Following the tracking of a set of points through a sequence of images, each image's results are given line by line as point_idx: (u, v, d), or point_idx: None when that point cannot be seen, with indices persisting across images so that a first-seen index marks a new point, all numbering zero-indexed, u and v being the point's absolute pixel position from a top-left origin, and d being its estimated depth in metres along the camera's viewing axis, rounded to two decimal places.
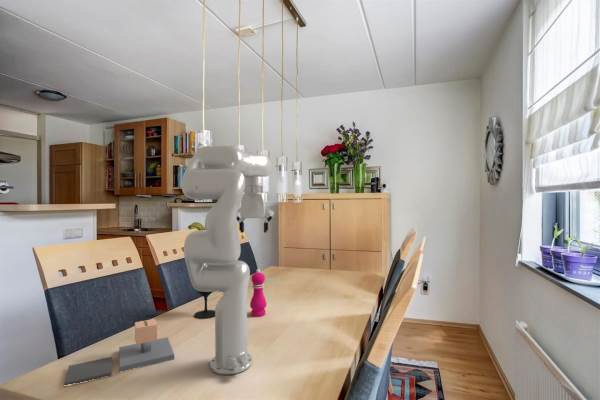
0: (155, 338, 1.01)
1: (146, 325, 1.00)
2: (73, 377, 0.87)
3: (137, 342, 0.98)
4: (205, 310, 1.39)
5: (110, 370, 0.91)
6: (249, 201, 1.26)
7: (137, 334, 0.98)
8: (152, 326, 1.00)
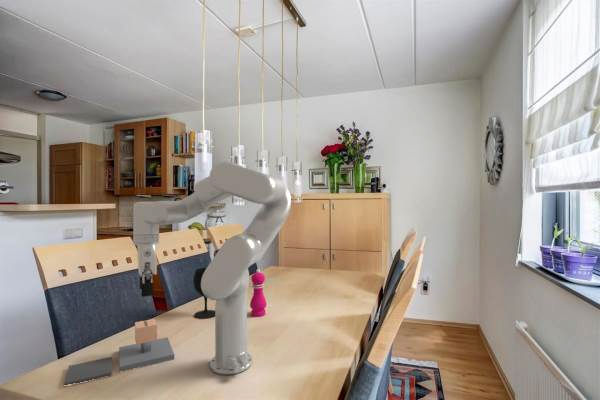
0: (155, 338, 1.01)
1: (146, 325, 1.00)
2: (73, 377, 0.87)
3: (137, 342, 0.98)
4: (205, 310, 1.39)
5: (110, 370, 0.91)
6: None
7: (137, 334, 0.98)
8: (152, 326, 1.00)
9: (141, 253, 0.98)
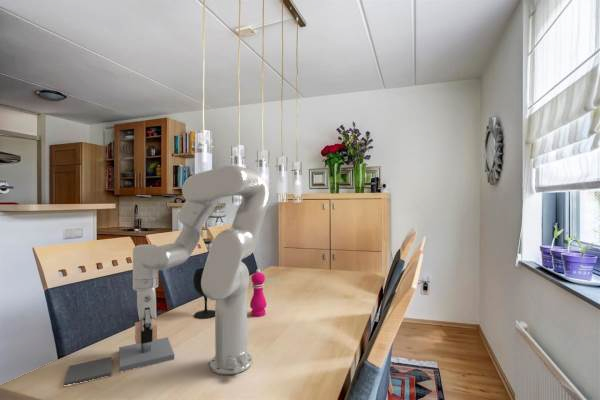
0: (155, 338, 1.01)
1: None
2: (73, 377, 0.87)
3: (137, 342, 0.98)
4: (205, 310, 1.39)
5: (110, 370, 0.91)
6: None
7: (137, 334, 0.98)
8: (152, 326, 1.00)
9: (141, 298, 0.97)
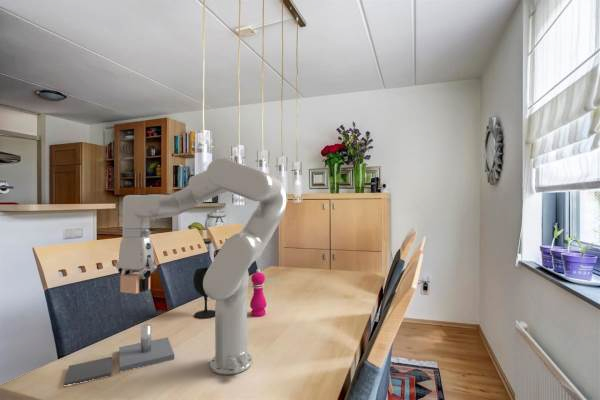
0: (149, 287, 1.02)
1: None
2: (73, 377, 0.87)
3: (136, 291, 0.97)
4: (205, 310, 1.39)
5: (110, 370, 0.91)
6: None
7: (137, 283, 0.97)
8: None
9: (143, 246, 0.98)
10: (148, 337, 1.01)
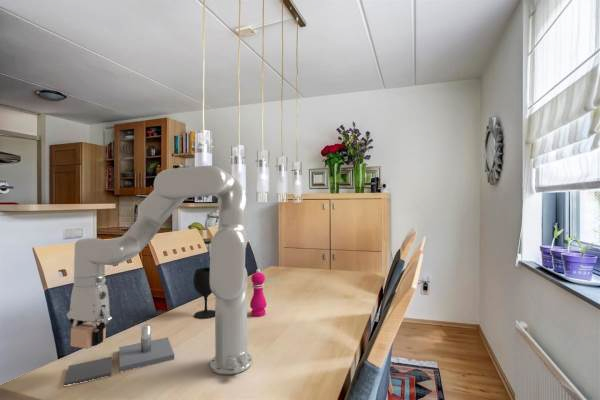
0: (104, 338, 0.93)
1: None
2: (73, 377, 0.87)
3: (88, 346, 0.88)
4: (205, 310, 1.39)
5: (110, 370, 0.91)
6: None
7: (88, 337, 0.89)
8: None
9: (96, 296, 0.89)
10: (148, 337, 1.01)
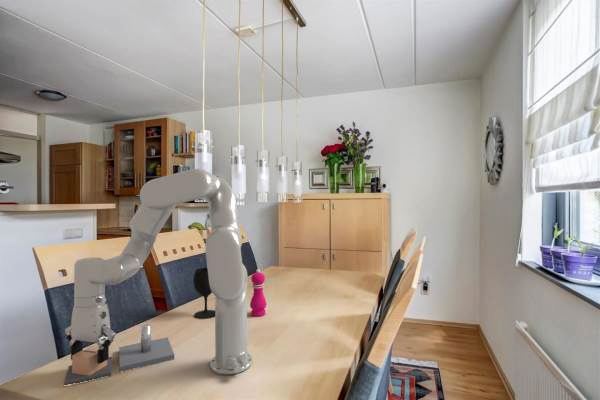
0: (105, 363, 0.93)
1: (96, 352, 0.91)
2: (73, 377, 0.87)
3: (90, 372, 0.88)
4: (205, 310, 1.39)
5: (110, 370, 0.91)
6: None
7: (90, 364, 0.88)
8: None
9: (97, 316, 0.89)
10: (148, 337, 1.01)
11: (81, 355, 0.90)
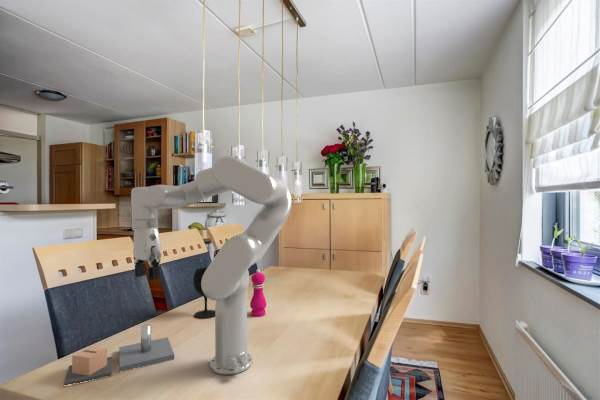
0: (105, 363, 0.93)
1: (96, 352, 0.91)
2: (73, 377, 0.87)
3: (90, 372, 0.88)
4: (205, 310, 1.39)
5: (110, 370, 0.91)
6: None
7: (90, 364, 0.88)
8: (103, 351, 0.93)
9: (146, 237, 0.98)
10: (148, 337, 1.01)
11: (81, 355, 0.90)
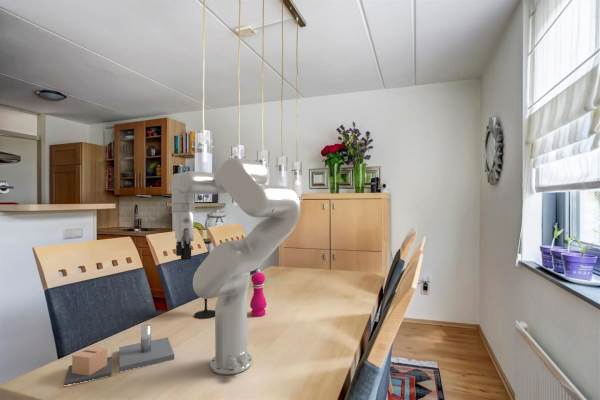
0: (105, 363, 0.93)
1: (96, 352, 0.91)
2: (73, 377, 0.87)
3: (90, 372, 0.88)
4: (205, 310, 1.39)
5: (110, 370, 0.91)
6: None
7: (90, 364, 0.88)
8: (103, 351, 0.93)
9: (180, 220, 1.06)
10: (148, 337, 1.01)
11: (81, 355, 0.90)
